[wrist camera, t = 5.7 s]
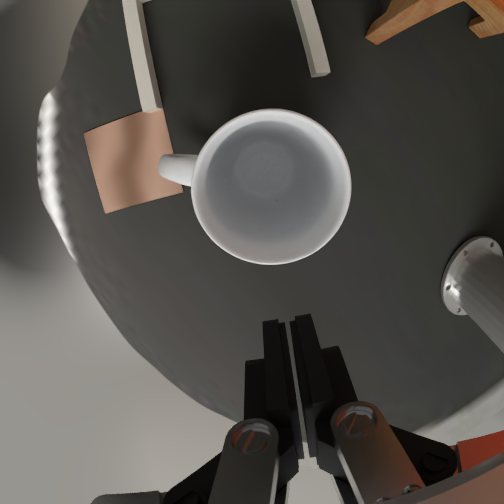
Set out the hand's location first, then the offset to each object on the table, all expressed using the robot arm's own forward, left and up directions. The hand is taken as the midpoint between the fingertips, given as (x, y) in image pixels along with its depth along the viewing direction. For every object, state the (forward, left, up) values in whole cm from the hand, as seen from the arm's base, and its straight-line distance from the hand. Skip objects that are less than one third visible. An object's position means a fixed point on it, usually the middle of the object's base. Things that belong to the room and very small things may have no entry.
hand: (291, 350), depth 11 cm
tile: (+13, -8, -25) cm, 29 cm away
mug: (0, -4, -25) cm, 25 cm away
